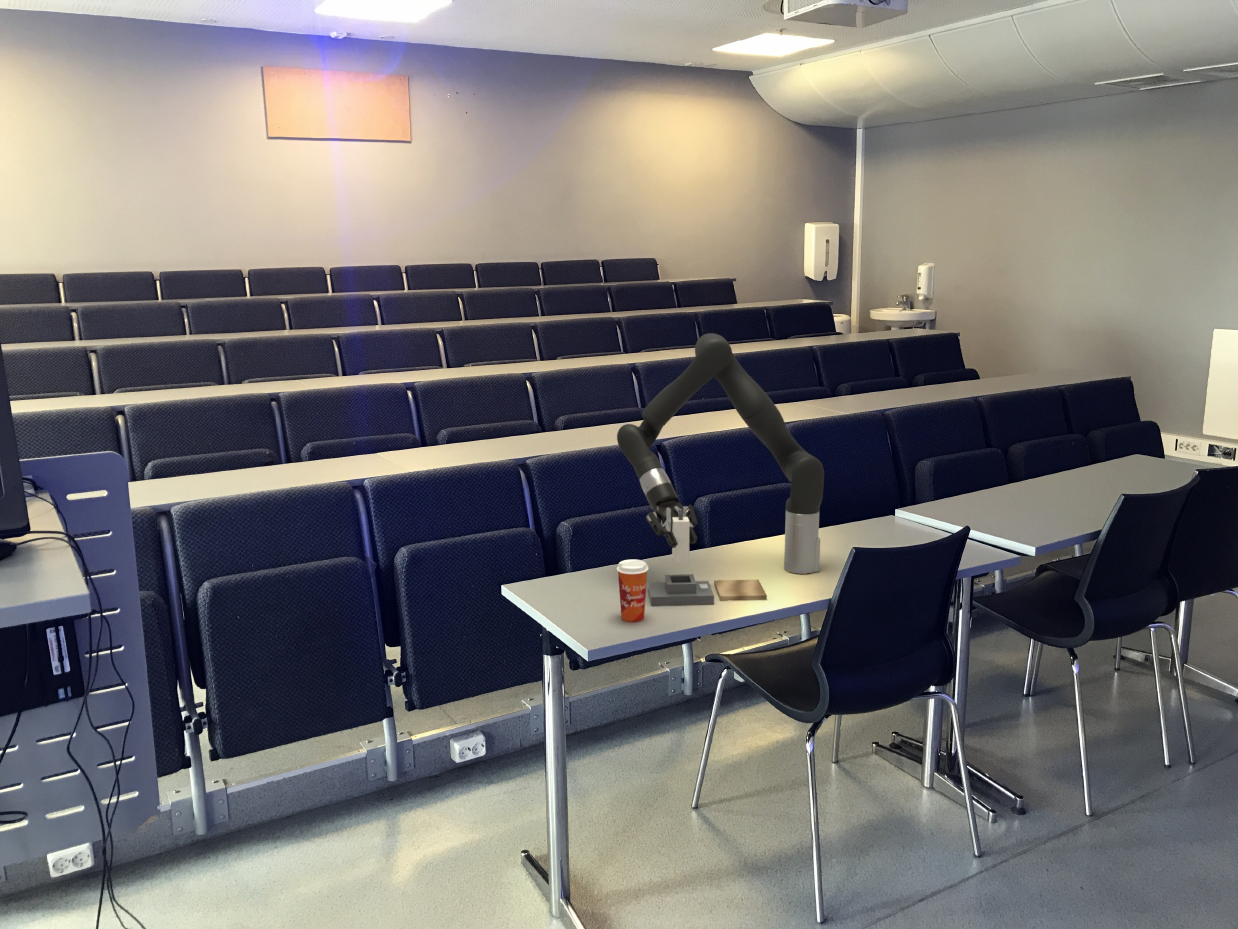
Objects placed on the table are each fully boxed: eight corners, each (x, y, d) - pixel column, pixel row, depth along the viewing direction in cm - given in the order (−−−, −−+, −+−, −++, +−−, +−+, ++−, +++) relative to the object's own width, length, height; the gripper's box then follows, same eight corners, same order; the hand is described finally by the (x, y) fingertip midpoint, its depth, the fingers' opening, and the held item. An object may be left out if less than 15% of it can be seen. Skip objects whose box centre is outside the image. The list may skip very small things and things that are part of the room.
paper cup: (620, 625, 225) (620, 570, 222) (614, 613, 232) (613, 559, 229) (652, 622, 226) (651, 567, 223) (645, 610, 234) (644, 557, 231)
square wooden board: (758, 583, 252) (758, 579, 252) (766, 599, 240) (766, 595, 240) (714, 584, 252) (714, 580, 251) (720, 600, 240) (720, 596, 240)
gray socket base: (708, 589, 248) (708, 571, 247) (713, 604, 237) (714, 586, 236) (648, 590, 248) (648, 572, 246) (651, 606, 237) (651, 587, 236)
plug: (687, 557, 242) (687, 506, 239) (689, 562, 238) (689, 510, 235) (672, 558, 242) (672, 506, 239) (673, 563, 238) (673, 511, 235)
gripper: (641, 485, 238) (667, 542, 231) (686, 478, 246) (713, 532, 239) (630, 501, 244) (655, 556, 237) (674, 493, 251) (701, 546, 244)
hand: (684, 544), depth 238 cm, fingers closed on plug, 5 cm apart
